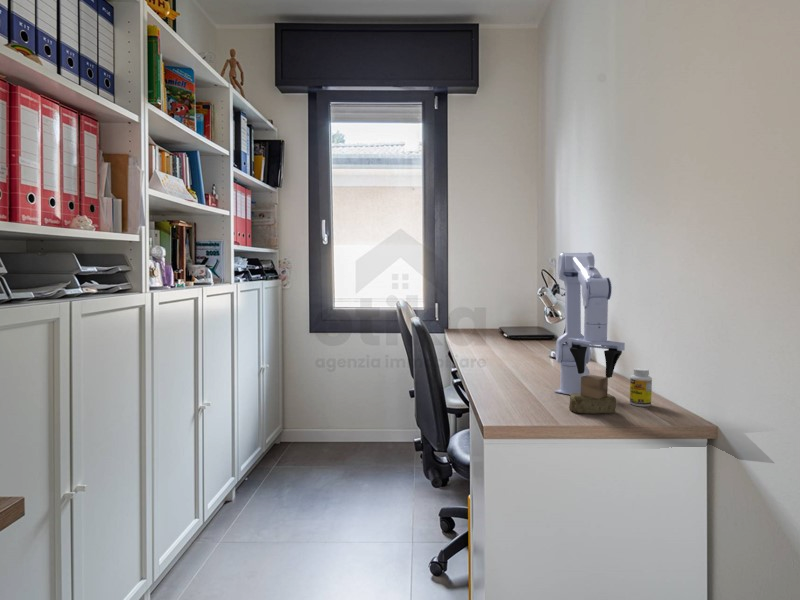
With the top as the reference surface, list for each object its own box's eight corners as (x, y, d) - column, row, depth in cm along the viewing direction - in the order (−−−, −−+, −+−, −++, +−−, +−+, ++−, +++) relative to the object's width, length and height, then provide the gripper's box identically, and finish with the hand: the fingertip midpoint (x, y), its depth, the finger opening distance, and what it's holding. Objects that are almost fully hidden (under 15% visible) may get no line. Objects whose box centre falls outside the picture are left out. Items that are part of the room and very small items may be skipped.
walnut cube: (589, 392, 139) (589, 374, 139) (607, 395, 136) (607, 377, 135) (580, 395, 136) (581, 376, 136) (598, 398, 132) (599, 379, 132)
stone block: (617, 415, 135) (617, 396, 135) (574, 415, 135) (574, 396, 134) (608, 409, 141) (608, 391, 140) (566, 409, 140) (566, 391, 140)
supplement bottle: (625, 403, 147) (626, 368, 146) (639, 401, 149) (639, 367, 149) (641, 408, 142) (642, 371, 141) (655, 406, 144) (656, 370, 144)
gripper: (562, 322, 136) (561, 373, 137) (616, 326, 126) (615, 381, 126) (575, 321, 141) (574, 370, 142) (628, 325, 131) (627, 377, 131)
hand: (594, 375), depth 134 cm, fingers open, 7 cm apart
